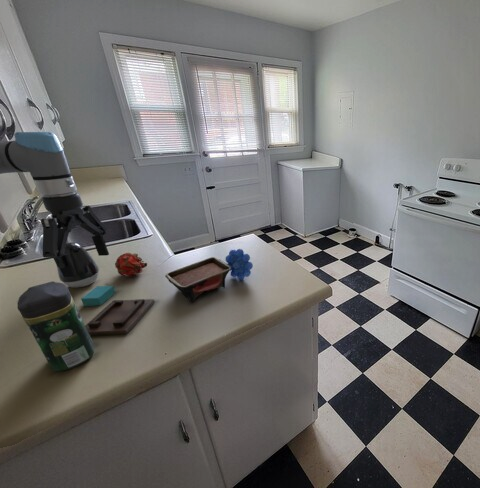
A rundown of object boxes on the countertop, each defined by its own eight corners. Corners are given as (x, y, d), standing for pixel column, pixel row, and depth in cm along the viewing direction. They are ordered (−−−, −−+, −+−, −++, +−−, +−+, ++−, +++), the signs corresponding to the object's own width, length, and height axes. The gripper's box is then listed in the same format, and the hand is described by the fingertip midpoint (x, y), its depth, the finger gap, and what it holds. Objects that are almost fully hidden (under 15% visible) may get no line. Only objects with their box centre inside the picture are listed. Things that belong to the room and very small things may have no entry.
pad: (101, 305, 82) (98, 298, 81) (83, 305, 81) (80, 298, 80) (115, 292, 88) (113, 285, 87) (99, 293, 88) (97, 286, 87)
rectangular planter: (235, 293, 91) (234, 265, 89) (178, 309, 79) (176, 276, 76) (216, 280, 101) (215, 255, 98) (163, 293, 88) (160, 264, 86)
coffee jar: (50, 354, 64) (14, 287, 57) (92, 337, 69) (64, 274, 62) (51, 379, 58) (10, 307, 50) (97, 359, 63) (67, 291, 55)
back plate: (127, 333, 70) (124, 326, 69) (78, 336, 70) (75, 328, 69) (154, 302, 83) (152, 295, 82) (114, 303, 82) (111, 297, 81)
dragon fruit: (127, 271, 104) (144, 284, 99) (103, 268, 96) (120, 281, 91) (137, 251, 105) (155, 263, 100) (114, 246, 97) (132, 258, 92)
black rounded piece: (77, 294, 87) (58, 251, 81) (57, 288, 90) (38, 246, 84) (109, 279, 96) (95, 239, 90) (90, 274, 99) (75, 235, 93)
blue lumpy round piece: (261, 277, 97) (258, 246, 92) (249, 286, 92) (245, 254, 87) (236, 270, 102) (232, 241, 97) (223, 278, 96) (218, 248, 91)
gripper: (31, 206, 61) (68, 286, 69) (106, 184, 83) (126, 247, 92) (-5, 207, 60) (36, 288, 68) (80, 185, 83) (103, 248, 91)
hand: (88, 265), depth 80 cm, fingers open, 13 cm apart
